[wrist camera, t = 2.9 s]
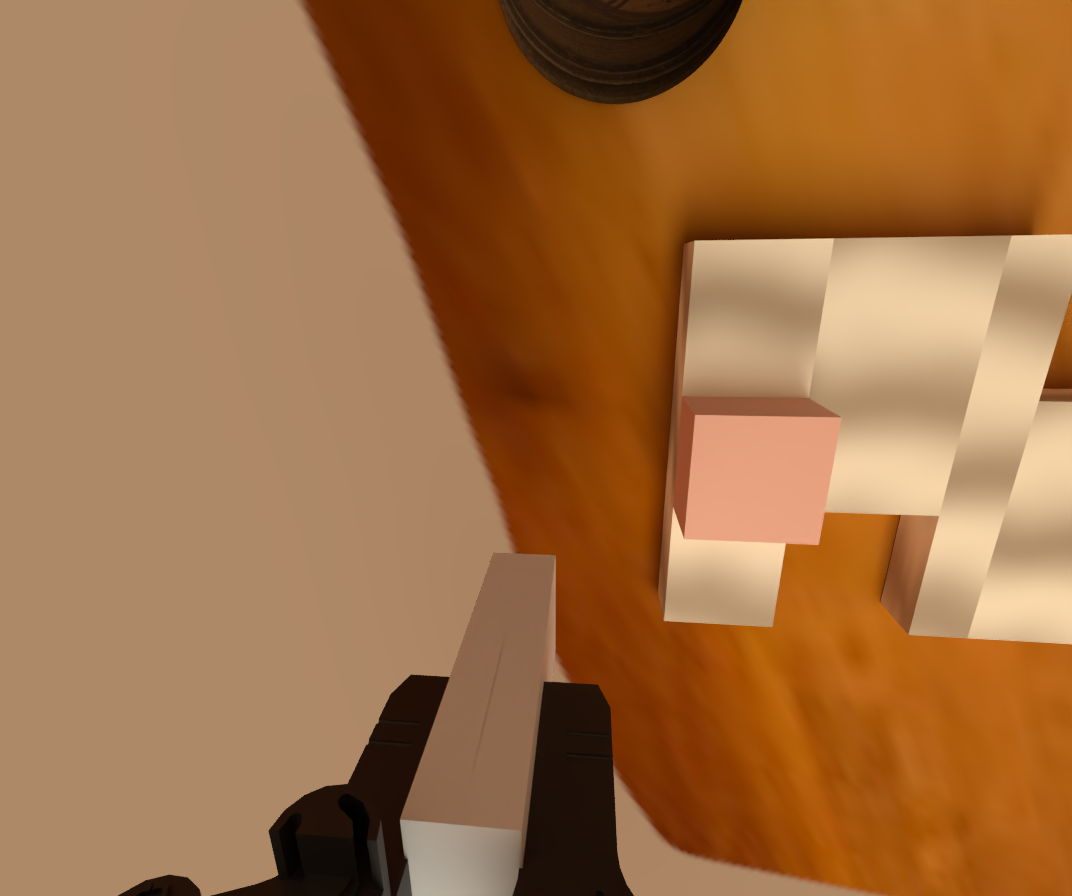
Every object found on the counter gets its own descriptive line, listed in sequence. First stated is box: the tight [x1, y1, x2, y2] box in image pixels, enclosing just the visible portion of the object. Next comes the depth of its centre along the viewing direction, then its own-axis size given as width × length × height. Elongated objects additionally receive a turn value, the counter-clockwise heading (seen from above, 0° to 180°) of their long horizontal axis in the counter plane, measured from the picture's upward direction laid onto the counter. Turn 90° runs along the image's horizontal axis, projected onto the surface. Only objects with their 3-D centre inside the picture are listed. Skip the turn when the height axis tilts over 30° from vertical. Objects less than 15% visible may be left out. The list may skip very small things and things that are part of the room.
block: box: [673, 396, 842, 545], centre depth 21 cm, size 5×5×3 cm
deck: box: [658, 235, 1072, 644], centre depth 21 cm, size 17×25×4 cm
